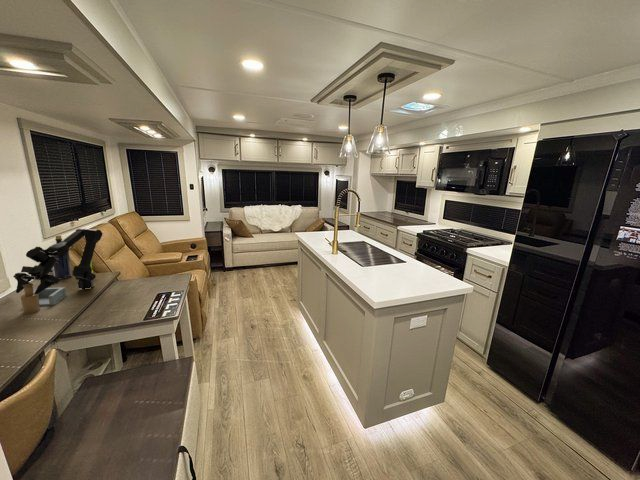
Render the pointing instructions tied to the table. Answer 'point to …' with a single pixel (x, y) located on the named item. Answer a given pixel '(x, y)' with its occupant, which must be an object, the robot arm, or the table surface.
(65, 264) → the bottle
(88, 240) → the robot arm
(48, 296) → the u rest
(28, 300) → the amber bottle
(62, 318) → the table surface
